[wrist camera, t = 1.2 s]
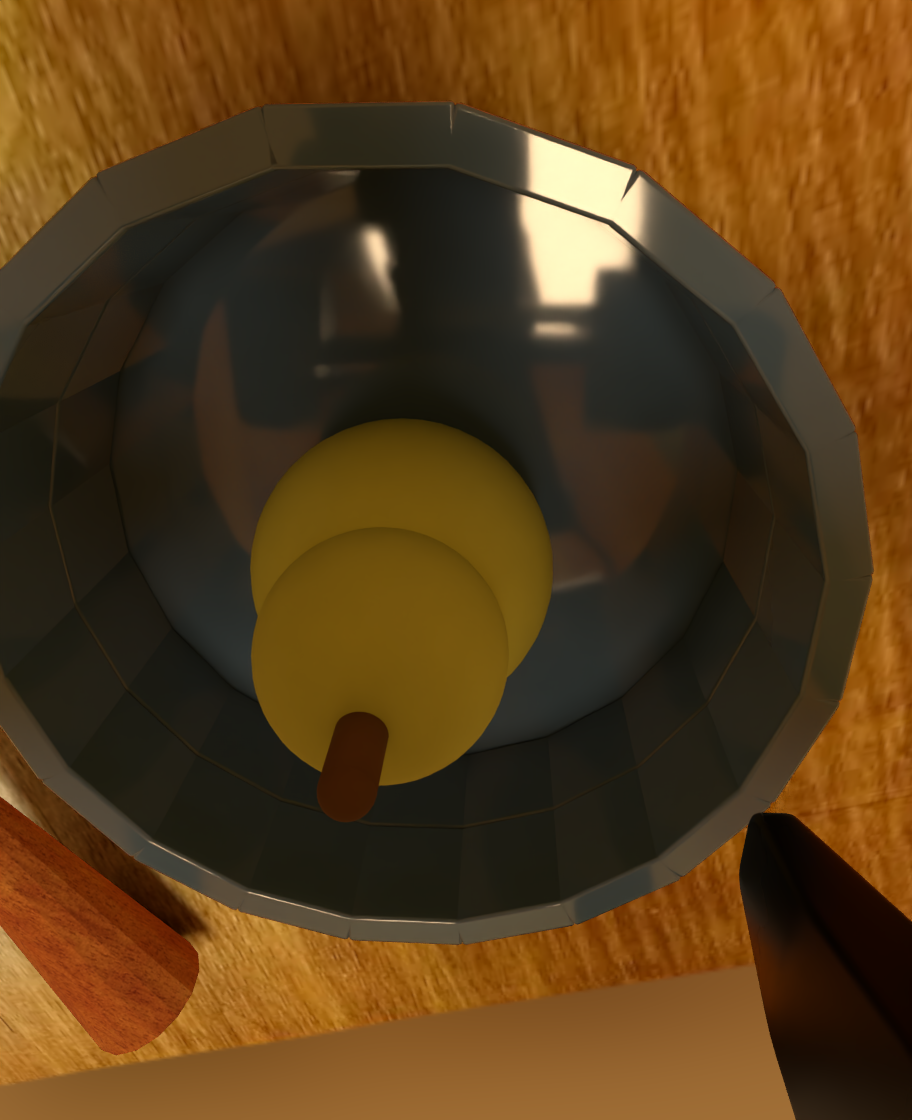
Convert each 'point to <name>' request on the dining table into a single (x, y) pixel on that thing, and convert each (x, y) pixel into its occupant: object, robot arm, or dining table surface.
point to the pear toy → (393, 602)
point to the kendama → (91, 939)
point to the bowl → (443, 397)
